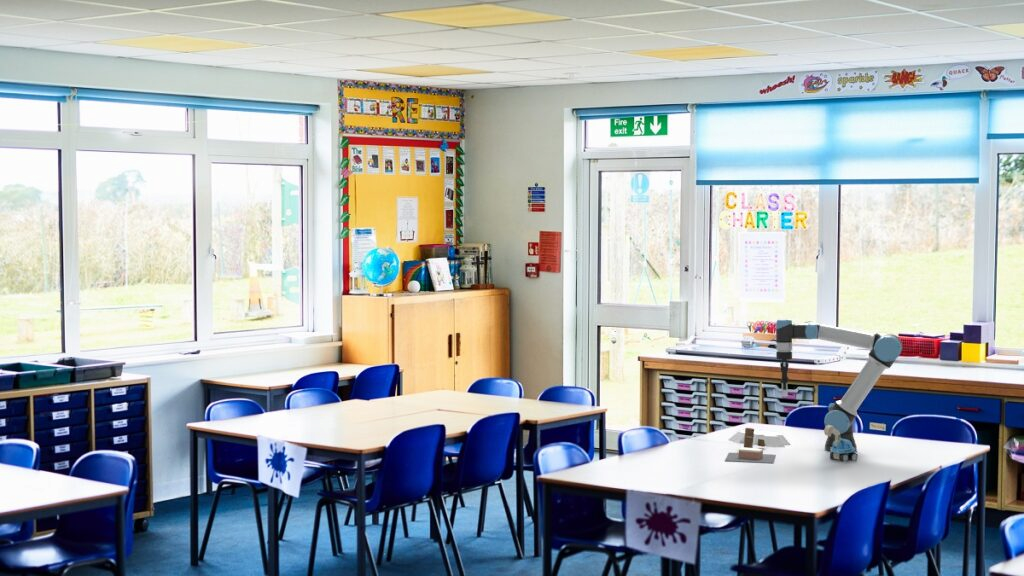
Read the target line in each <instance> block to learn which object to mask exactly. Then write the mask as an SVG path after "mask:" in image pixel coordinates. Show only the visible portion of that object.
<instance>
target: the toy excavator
mask: <svg viewBox="0 0 1024 576" xmlns="http://www.w3.org/2000/svg"><path fill="white" fill-rule="evenodd" d="M824 427H825V428H824V430H823V433H824V435H825V436H827V437H828V436H831V433H833V434H834V435H835V441H834V442H833V447H830V451H831V452H830V451H829V458H830V460H839V462H848V461H852V460H853V461H857V460H858V453H856V452H855V448H854V447H852V443H851V442H850V441H849V440H847V439H843V438H840V432H839V431H838V430H836V429H834V426H831V425H827V426H824Z"/></svg>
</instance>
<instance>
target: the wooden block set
mask: <svg viewBox="0 0 1024 576" xmlns="http://www.w3.org/2000/svg"><path fill="white" fill-rule="evenodd" d="M754 431H755V429H754V428H753V427H745V429H744V432H745V438H744V443H743V447H745V448H754V444H753V438H754ZM757 446H758V447H764V448H765V447H766V445H765V442H764V440H762V439H758V444H757Z"/></svg>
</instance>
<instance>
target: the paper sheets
mask: <svg viewBox="0 0 1024 576" xmlns="http://www.w3.org/2000/svg"><path fill="white" fill-rule="evenodd" d="M744 438H745V431H736V433H734V434H733V435H732V436H731V437H730V438H729V439H727V440H728V441H731V442H735V443H738V444H739V443H740V444H741V443H742V444H744ZM758 439H762V440H764V442H765V447H777V448H786V446H792V444H791V443H790V442H789V441H788V439H787V438H786V437H785V436H784V435H783V434H782V433H780V432H771V431H761V430H755V429H754V438H753V445H758Z"/></svg>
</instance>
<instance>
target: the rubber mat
mask: <svg viewBox="0 0 1024 576" xmlns="http://www.w3.org/2000/svg"><path fill="white" fill-rule="evenodd" d="M738 456H739V452H728V453H727V456H726V457H725V459H724V462H730V463H731V462H732V463H753V464H754V463H755V464H772V465H774V462H775V459H776V454H772V453H771V454H770V453H769V454H767V453H763V458H761V459H748V458H738Z"/></svg>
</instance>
